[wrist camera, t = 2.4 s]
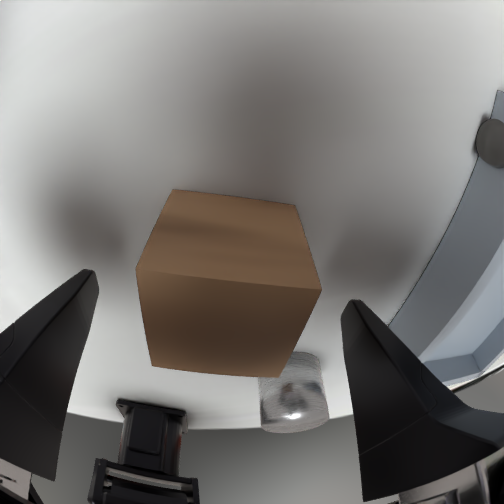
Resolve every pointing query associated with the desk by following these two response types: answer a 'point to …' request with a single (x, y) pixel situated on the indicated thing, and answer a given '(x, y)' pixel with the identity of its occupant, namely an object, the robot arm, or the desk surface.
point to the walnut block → (225, 285)
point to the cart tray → (464, 275)
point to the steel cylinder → (294, 396)
